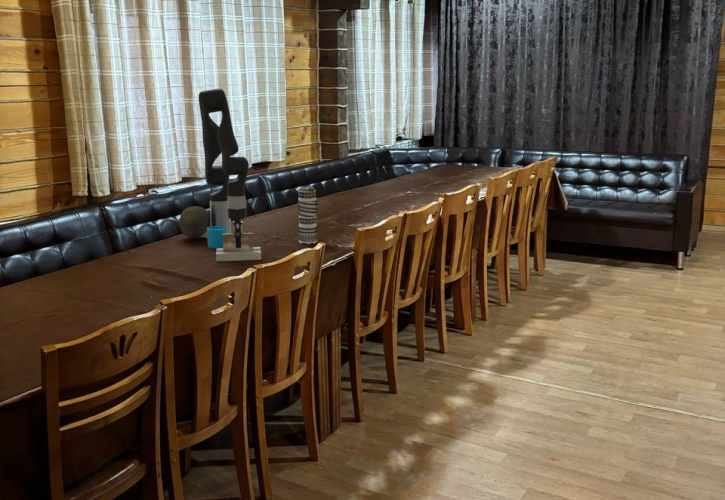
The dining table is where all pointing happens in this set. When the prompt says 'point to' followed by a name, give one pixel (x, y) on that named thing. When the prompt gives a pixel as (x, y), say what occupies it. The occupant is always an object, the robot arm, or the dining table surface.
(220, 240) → the mug
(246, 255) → the notched stand
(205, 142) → the robot arm
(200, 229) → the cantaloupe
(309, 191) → the decorative candle
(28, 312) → the dining table surface
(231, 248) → the picture frame
